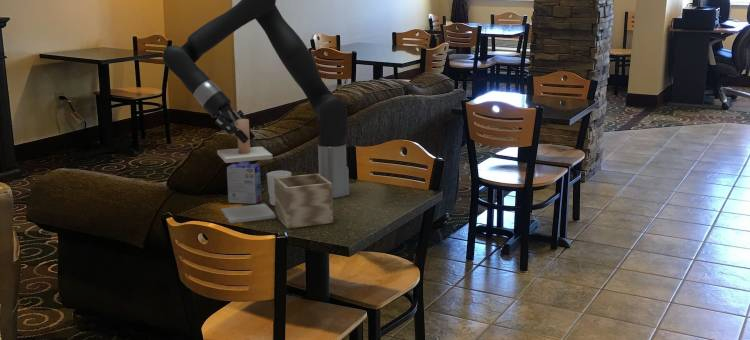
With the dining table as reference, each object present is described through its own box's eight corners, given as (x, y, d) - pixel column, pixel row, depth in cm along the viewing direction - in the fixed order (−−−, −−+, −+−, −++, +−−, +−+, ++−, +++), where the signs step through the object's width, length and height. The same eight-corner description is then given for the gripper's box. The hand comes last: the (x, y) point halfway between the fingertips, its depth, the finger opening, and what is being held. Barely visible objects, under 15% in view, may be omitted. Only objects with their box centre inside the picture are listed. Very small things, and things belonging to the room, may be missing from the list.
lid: (262, 150, 255) (260, 114, 253) (272, 158, 243) (271, 121, 240) (217, 153, 251) (215, 118, 248) (225, 162, 238) (223, 125, 235)
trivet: (265, 206, 260) (265, 203, 259) (275, 217, 247) (275, 214, 247) (221, 211, 255) (221, 208, 255) (229, 223, 242) (229, 220, 242)
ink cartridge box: (262, 200, 268) (260, 157, 265) (256, 204, 263) (254, 160, 259) (234, 199, 270) (231, 156, 267) (228, 203, 265) (225, 159, 261)
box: (319, 210, 254) (318, 173, 251) (333, 222, 241) (332, 183, 238) (275, 216, 249) (274, 178, 246) (287, 228, 236) (285, 188, 233)
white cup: (296, 201, 266) (295, 171, 263) (286, 207, 258) (284, 176, 256) (274, 199, 268) (273, 170, 266) (264, 205, 261) (262, 175, 259)
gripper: (207, 93, 238) (246, 136, 237) (230, 87, 251) (268, 127, 250) (192, 110, 241) (230, 152, 240) (216, 103, 254) (253, 143, 253)
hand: (249, 139), depth 245 cm, fingers closed on lid, 3 cm apart
